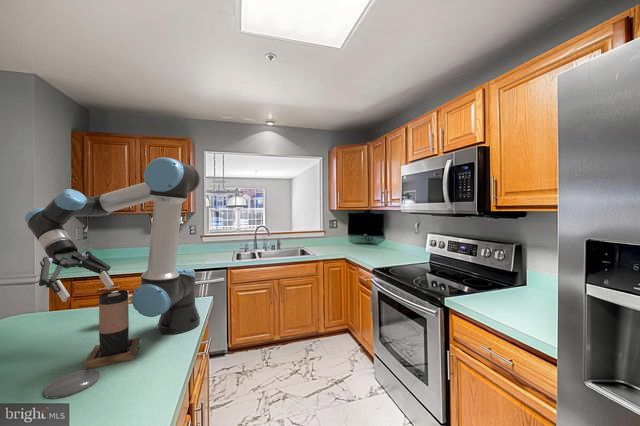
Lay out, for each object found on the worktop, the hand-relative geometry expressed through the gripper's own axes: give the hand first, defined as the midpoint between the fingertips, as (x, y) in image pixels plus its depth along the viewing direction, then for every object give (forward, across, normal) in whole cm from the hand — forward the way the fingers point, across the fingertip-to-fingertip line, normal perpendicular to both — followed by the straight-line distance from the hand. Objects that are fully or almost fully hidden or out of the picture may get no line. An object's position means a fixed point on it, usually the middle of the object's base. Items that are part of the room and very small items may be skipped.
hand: (90, 292), depth 91 cm
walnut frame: (+21, 0, -6) cm, 22 cm away
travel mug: (+21, 0, -6) cm, 22 cm away
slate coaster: (+24, +14, -3) cm, 28 cm away
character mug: (+5, -18, -22) cm, 30 cm away
